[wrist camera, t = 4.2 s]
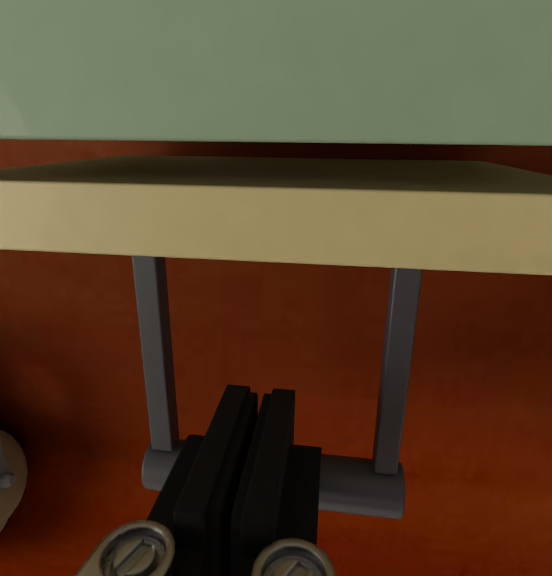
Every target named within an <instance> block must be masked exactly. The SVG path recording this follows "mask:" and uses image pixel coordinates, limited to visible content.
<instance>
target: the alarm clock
mask: <svg viewBox="0 0 552 576" xmlns="http://www.w3.org/2000/svg"><path fill="white" fill-rule="evenodd" d="M27 474H28V470H27V462H26V457H25V455H24V452H23V450H22V448H21V446H20V444H19V443H18V442H17V441H16V440H15V439H14V438H13V437H12V435H10V434H8V433H6V432H4V431H2V430H0V533H1V531H2V529H3V527H4V526H5V524H6V522H7V519H8V518H9V517H10V516H11V515H12V513H13V512H14V510H15V509H16V507H17V506H18V504H19V503H20V500H21V498H22V495H23V492H24V490H25V487H26V481H27Z"/></svg>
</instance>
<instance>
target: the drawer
mask: <svg viewBox="0 0 552 576" xmlns="http://www.w3.org/2000/svg"><path fill="white" fill-rule="evenodd" d="M0 249H6V250H27V251H48V252H69V253H90V254H111V255H132V262H133V272H134V281H135V291H136V300H137V310H138V320H139V329H140V339H141V348H142V358H143V368H144V377H145V387H146V396H147V406H148V415H149V425H150V435H151V442H150V443H149V445H148V447H147V450H146V452H145V456H144V459H143V464H142V483H143V486H144V487H145V488H146V489H150V490H158V491H161V490H162V487H163V485H164V483H165V481H166V479H167V477H168V475H169V473H170V471H171V469H172V467H173V465H174V463H175V461H176V459H177V457H178V455H179V453H180V451H181V449H182V447H183V444H184V442H185V440H182V439H179V431H178V418H177V405H176V392H175V380H174V367H173V354H172V342H171V329H170V316H169V303H168V291H167V278H166V265H165V257H174V258H195V259H216V260H237V261H258V262H279V263H300V264H322V265H343V266H364V267H385V268H391V277H390V287H389V297H388V307H387V317H386V327H385V337H384V347H383V357H382V367H381V377H380V387H379V397H378V407H377V417H376V427H375V437H374V448H373V459H367V458H357V457H347V456H337V455H328V454H321V467H320V486H319V506H318V510H326V511H334V512H343V513H351V514H360V515H368V516H377V517H385V518H393V519H400V518H402V516H403V513H404V506H405V478H404V471H403V467H402V464H401V463H400V462H399V455H400V447H401V439H402V431H403V423H404V415H405V407H406V399H407V391H408V383H409V375H410V367H411V359H412V351H413V343H414V335H415V327H416V318H417V310H418V302H419V294H420V286H421V278H422V270H423V269H427V270H448V271H469V272H490V273H511V274H532V275H552V176H551V175H547V174H542V173H537V172H532V171H528V170H523V169H518V168H514V167H509V166H504V165H500V164H495V163H490V162H485V161H453V160H393V159H332V158H272V157H212V156H151V155H123V156H114V157H105V158H96V159H87V160H78V161H69V162H60V163H51V164H42V165H33V166H24V167H15V168H6V169H0Z"/></svg>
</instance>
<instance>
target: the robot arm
mask: <svg viewBox="0 0 552 576" xmlns="http://www.w3.org/2000/svg"><path fill="white" fill-rule="evenodd" d="M294 412H295V390H286V389H273V391H272V394H264V396H263V400H262V403H261V407H260V411H259V414H258V396H257V393H252V392H250V387H249V386H238V385H227V387H226V389H225V391H224V393H223V396H222V398H221V400H220V403H219V405H218V407H217V410H216V412H215V414H214V417H213V419H212V421H211V424H210V426H209V428H208V431H207V433H206V435H205V436H201V435H189V436H188V437H187V439H186V440H185V442H184V444H183V447H182V449H181V451H180V453H179V455H178V457H177V459H176V461H175V463H174V465H173V467H172V469H171V471H170V473H169V475H168V477H167V479H166V481H165V483H164V485H163V487H162V490H161V492H160V494H159V496H158V498H157V500H156V502H155V504H154V506H153V508H152V510H151V512H150V514H149V516H148V518H147V520H138V521H132V522H129V523H126V524H124V525H121V526H119V527H117V528H116V529H114V530H113V531H111V532H110V533H108V534H107V535H106V536H105V538H104V539H103V540H102V541H101V542H100V543H99V544H98V545H97V547H96V548H95V549H94V551H93V552H92V553H91V555H90V556H89V557H88V559H87V560H86V561H85V563H84V564H83V565H82V567H81V568H80V569H79V571H78V572H77V573H76V575H75V576H336V574H335V571H334V568H333V565H332V562H331V561H330V559H329V558H328V556H327V555H326V553H325V552H324V551H322V550H321V549H320V548H319V547H317V546H316V544H317V525H318V506H319V486H320V467H321V447H312V446H302V445H293V442H294Z"/></svg>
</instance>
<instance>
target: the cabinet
mask: <svg viewBox="0 0 552 576" xmlns="http://www.w3.org/2000/svg"><path fill="white" fill-rule="evenodd" d="M0 139H44V140H127V141H210V142H293V143H376V144H459V145H543V146H552V0H0Z"/></svg>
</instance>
